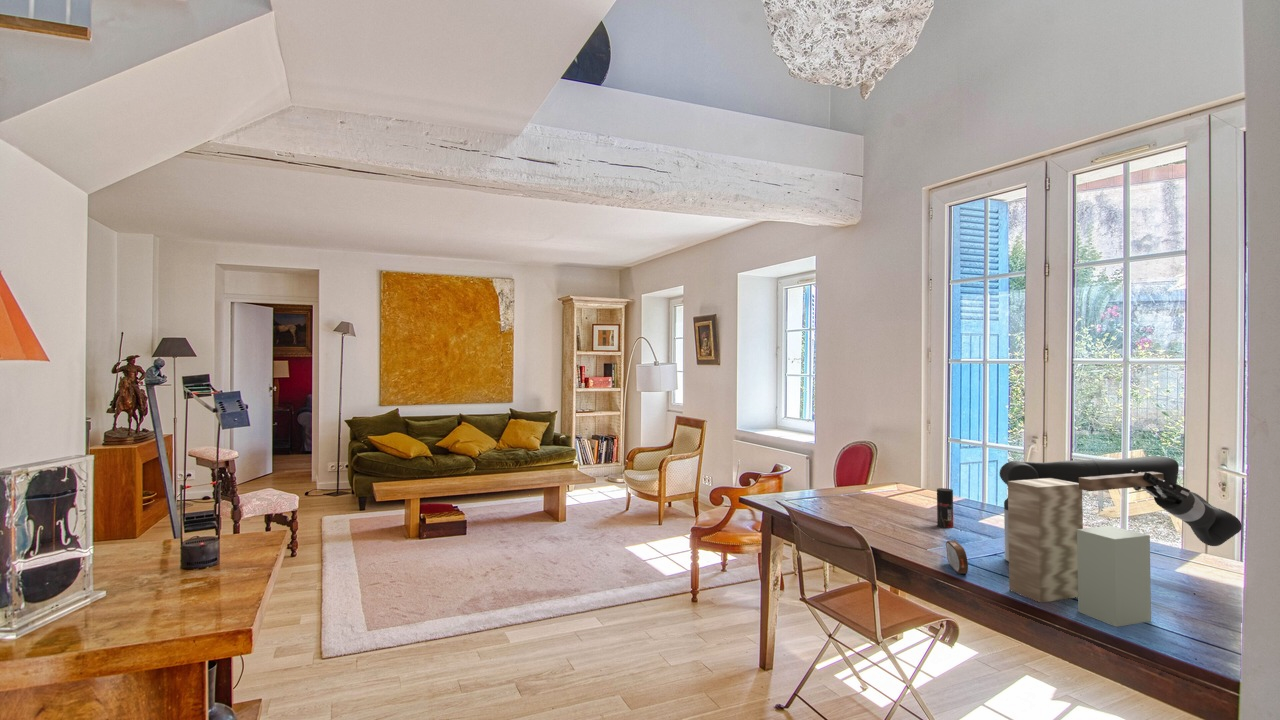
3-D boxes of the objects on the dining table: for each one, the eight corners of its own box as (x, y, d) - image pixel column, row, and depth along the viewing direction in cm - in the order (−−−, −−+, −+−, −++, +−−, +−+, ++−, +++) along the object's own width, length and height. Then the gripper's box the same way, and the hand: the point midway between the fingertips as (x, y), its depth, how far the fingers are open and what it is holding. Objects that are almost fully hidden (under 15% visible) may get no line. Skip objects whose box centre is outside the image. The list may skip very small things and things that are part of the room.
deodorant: (947, 528, 251) (946, 491, 251) (934, 525, 256) (933, 489, 256) (956, 527, 253) (956, 490, 253) (943, 523, 259) (943, 487, 259)
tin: (969, 577, 193) (968, 550, 194) (958, 577, 194) (957, 550, 194) (954, 562, 208) (954, 537, 208) (944, 562, 209) (944, 537, 209)
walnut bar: (1151, 482, 169) (1151, 471, 169) (1163, 484, 166) (1163, 473, 166) (1078, 489, 162) (1078, 477, 162) (1089, 491, 159) (1089, 479, 159)
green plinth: (1112, 606, 169) (1110, 525, 169) (1151, 621, 160) (1149, 535, 160) (1078, 611, 166) (1077, 529, 166) (1116, 626, 156) (1114, 539, 157)
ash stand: (1051, 584, 187) (1050, 477, 187) (1083, 596, 177) (1082, 483, 177) (1009, 590, 182) (1007, 481, 183) (1039, 602, 173) (1038, 487, 173)
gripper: (1156, 485, 177) (1116, 458, 173) (1213, 495, 164) (1171, 465, 160) (1147, 509, 176) (1107, 482, 172) (1204, 521, 162) (1161, 491, 158)
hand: (1138, 474), depth 166 cm, fingers closed on walnut bar, 3 cm apart
